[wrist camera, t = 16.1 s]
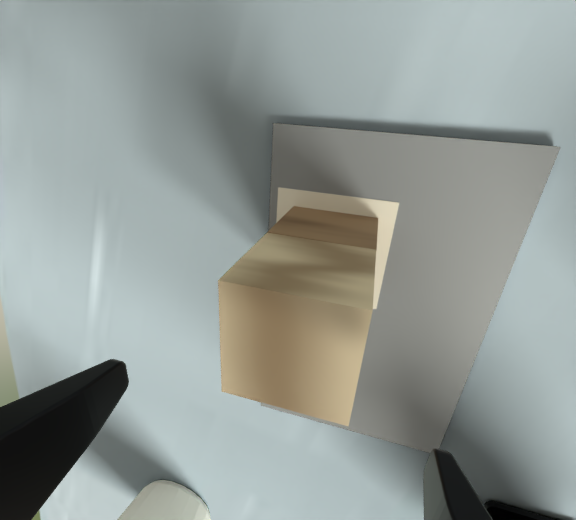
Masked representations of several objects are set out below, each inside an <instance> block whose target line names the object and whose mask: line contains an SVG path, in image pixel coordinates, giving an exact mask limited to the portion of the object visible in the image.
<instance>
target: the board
mask: <svg viewBox="0 0 576 520" xmlns="http://www.w3.org/2000/svg"><path fill="white" fill-rule="evenodd" d="M559 150H560V147H557V146H547V145H535V144H523V143H510V142H498V141H486V140H474V139H462V138H450V137H438V136H426V135H413V134H401V133H389V132H377V131H365V130H353V129H341V128H329V127H317V126H304V125H292V124H280V123H273V140H272V163H271V186H270V209H269V230H270V229H271V228H272V227H273V226H274V225H275V224H276V223H277V222H278V221H279V220H280V219H281V218H282V217H283V216H284V215H285V214H286V213H287V212H288V211H289V210H290V209H291V208H292V207H293V206H297V207H304V208H311V209H319V210H326V211H333V212H340V213H347V214H354V215H361V216H368V217H375V218H378V233H377V250H376V261H375V279H374V296H373V312H372V316H371V321H370V326H369V331H368V336H367V340H366V345H365V350H364V355H363V360H362V364H361V369H360V374H359V379H358V384H357V388H356V393H355V398H354V403H353V408H352V412H351V417H350V422H349V426H345V425H341V424H338V423H334V422H330V421H327V420H323V419H320V418H316V417H312V416H309V415H305V414H302V413H298V412H294V411H291V410H287V409H284V408H280V407H276V406H273V405H269V404H266V403H262V402H261V406H265V407H268V408H272V409H275V410H279V411H282V412H286V413H290V414H293V415H297V416H300V417H304V418H307V419H311V420H314V421H318V422H322V423H325V424H329V425H332V426H336V427H339V428H343V429H346V430H350V431H354V432H357V433H361V434H364V435H368V436H371V437H375V438H378V439H382V440H386V441H389V442H393V443H396V444H400V445H403V446H407V447H410V448H414V449H417V450H421V451H425V452H428V453H431V451H432V449H434V448H436V449H439V448H440V445H441V443H442V440H443V438H444V435H445V433H446V430H447V428H448V425H449V423H450V420H451V418H452V415H453V413H454V410H455V408H456V405H457V403H458V400H459V398H460V396H461V393H462V391H463V388H464V386H465V383H466V381H467V378H468V376H469V373H470V371H471V368H472V366H473V363H474V361H475V358H476V356H477V353H478V351H479V348H480V346H481V343H482V341H483V338H484V336H485V333H486V331H487V328H488V326H489V324H490V321H491V319H492V316H493V314H494V311H495V309H496V306H497V304H498V301H499V299H500V296H501V294H502V291H503V289H504V286H505V284H506V281H507V279H508V276H509V274H510V271H511V269H512V266H513V264H514V261H515V259H516V256H517V254H518V251H519V249H520V247H521V244H522V242H523V239H524V237H525V234H526V232H527V229H528V227H529V224H530V222H531V219H532V217H533V214H534V212H535V209H536V207H537V204H538V202H539V199H540V197H541V194H542V192H543V189H544V187H545V184H546V182H547V179H548V177H549V175H550V172H551V170H552V167H553V165H554V162H555V160H556V157H557V155H558V152H559Z"/></svg>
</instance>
